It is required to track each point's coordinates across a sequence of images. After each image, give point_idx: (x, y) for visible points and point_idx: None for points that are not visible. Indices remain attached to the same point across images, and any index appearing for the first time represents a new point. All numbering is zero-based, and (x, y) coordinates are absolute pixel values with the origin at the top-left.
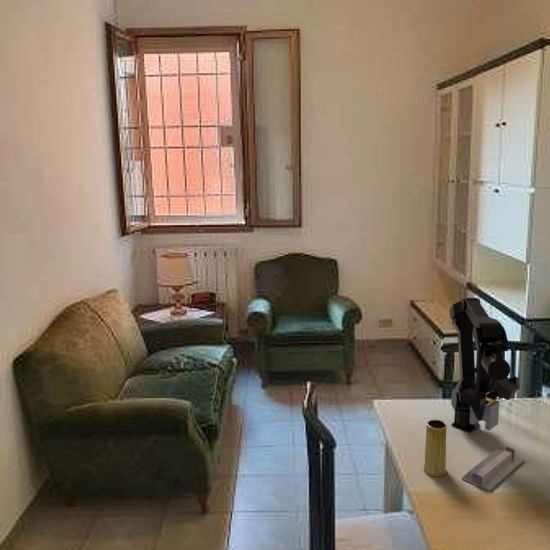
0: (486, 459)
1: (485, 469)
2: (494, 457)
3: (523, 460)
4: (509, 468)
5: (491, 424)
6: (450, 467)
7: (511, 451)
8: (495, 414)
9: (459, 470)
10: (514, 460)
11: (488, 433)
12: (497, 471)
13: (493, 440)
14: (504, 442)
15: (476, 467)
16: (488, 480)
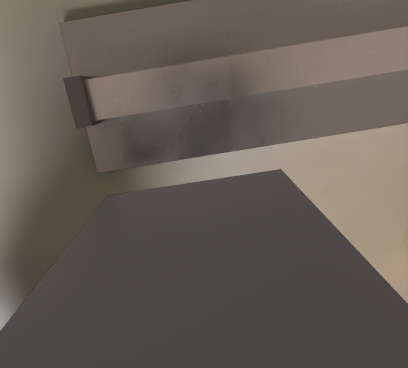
0: (224, 143)
1: (357, 61)
2: (176, 131)
3: (70, 21)
4: (202, 17)
5: (255, 189)
6: (387, 205)
7: (86, 87)
8: (159, 247)
9: (380, 167)
10: (114, 49)
11: (11, 284)
12: (276, 39)
13: (40, 235)
14: (7, 194)
15: (322, 128)
16: (381, 17)
